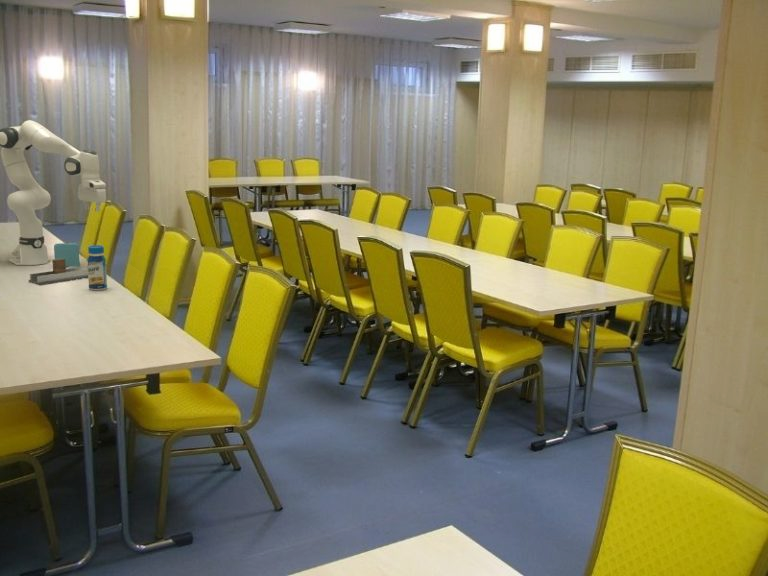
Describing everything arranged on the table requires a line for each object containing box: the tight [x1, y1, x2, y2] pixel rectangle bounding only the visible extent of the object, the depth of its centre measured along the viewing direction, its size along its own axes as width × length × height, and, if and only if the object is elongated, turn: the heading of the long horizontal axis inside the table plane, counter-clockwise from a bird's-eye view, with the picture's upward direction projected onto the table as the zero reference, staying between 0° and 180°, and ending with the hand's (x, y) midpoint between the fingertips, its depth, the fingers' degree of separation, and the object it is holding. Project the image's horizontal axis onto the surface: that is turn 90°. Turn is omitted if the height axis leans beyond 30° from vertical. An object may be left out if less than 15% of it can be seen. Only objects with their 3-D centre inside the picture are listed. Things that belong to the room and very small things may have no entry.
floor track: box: [28, 266, 88, 286], centre depth 403 cm, size 11×26×4 cm, turn 140°
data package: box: [53, 242, 81, 268], centre depth 435 cm, size 12×4×12 cm, turn 113°
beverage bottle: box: [86, 244, 108, 291], centre depth 384 cm, size 8×8×20 cm
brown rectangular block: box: [51, 258, 67, 274], centre depth 402 cm, size 3×5×9 cm, turn 140°
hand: (92, 210), depth 420 cm, fingers open, 8 cm apart
